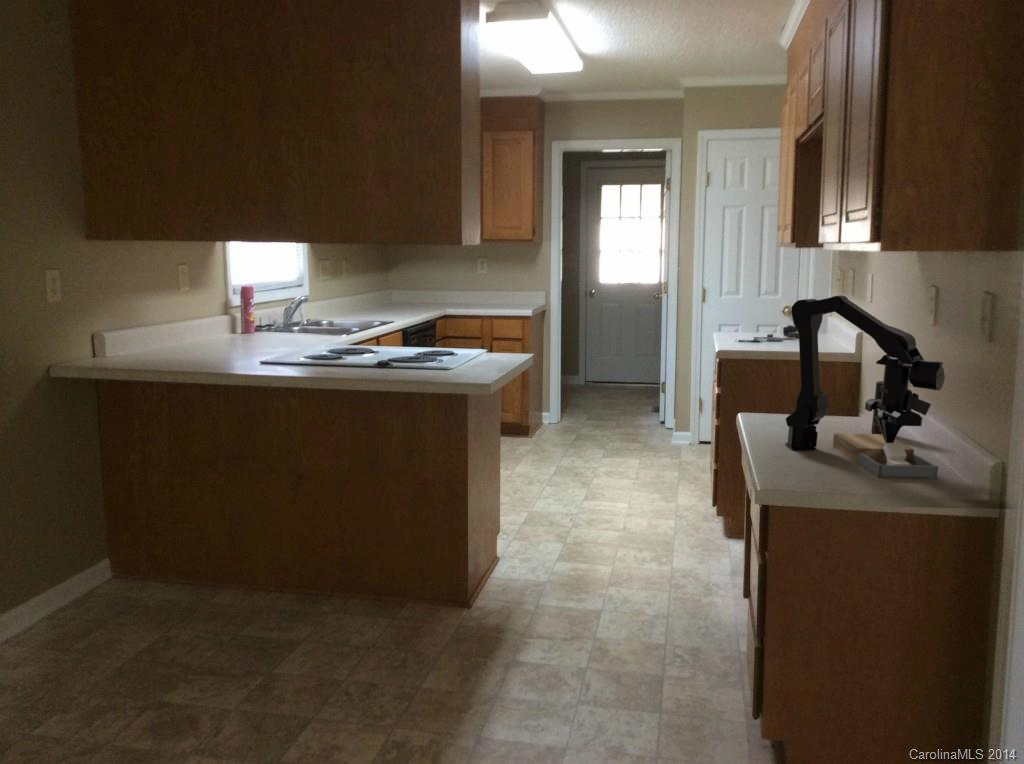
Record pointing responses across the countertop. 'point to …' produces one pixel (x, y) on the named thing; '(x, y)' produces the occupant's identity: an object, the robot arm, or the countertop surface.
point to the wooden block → (865, 446)
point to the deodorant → (874, 422)
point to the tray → (899, 468)
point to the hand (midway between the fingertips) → (888, 446)
